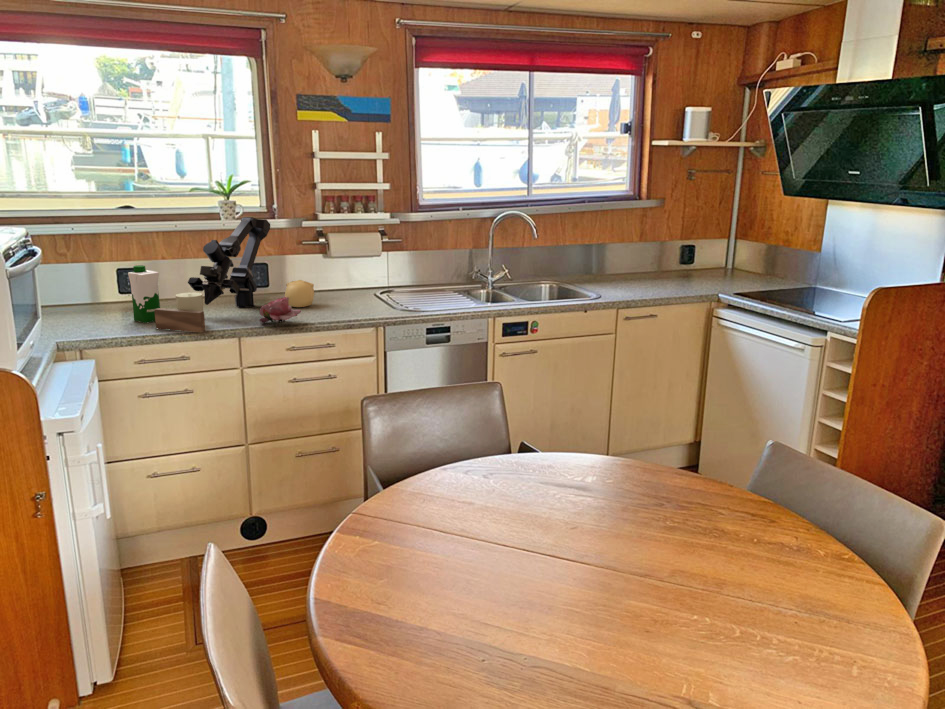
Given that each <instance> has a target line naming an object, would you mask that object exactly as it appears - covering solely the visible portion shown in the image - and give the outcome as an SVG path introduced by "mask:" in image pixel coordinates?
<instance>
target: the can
mask: <svg viewBox="0 0 945 709" xmlns="http://www.w3.org/2000/svg"><path fill="white" fill-rule="evenodd" d="M203 295H204V294H203V293H201V292H197V291H195V292H193V291H192V292H181V293H176V294H175V302H176V309H177V310H190V311H204V300H203V298H204V297H203Z"/></svg>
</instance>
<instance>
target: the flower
mask: <svg viewBox="0 0 945 709" xmlns="http://www.w3.org/2000/svg"><path fill="white" fill-rule="evenodd" d="M288 300H289V298H288V297H287V298H286V297H285V296H284V297H282V298H275V300H271V301H269V302H268V303H267V304H264V305H262V306H261V307H260V309H259V314H260V316H262V318H260V319H259V322H261V323H262V324H265V322H266V323H267V322H269V321H270V322H271V323H272V324H273V326H274V327H276V324H275V322H277V321H278V324H280V323H281V324H282V323H283V322H286V321H287V320H289V319H291V318H294V317H298V315H299V314H301V312H302V310H301V309H293V308H292V307H293V306H290V305H289V304H288Z"/></svg>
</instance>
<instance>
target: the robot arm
mask: <svg viewBox="0 0 945 709" xmlns="http://www.w3.org/2000/svg"><path fill="white" fill-rule="evenodd" d="M270 229H271V222H269V221H268V220H267V219H265V218H256V217H253V216H252V217H251V216H243V217H242V218H241V220H240V222H239V224H238V225H237V226H236V228H235V229H234V230H233V232H232V233H231V234H230V235H229V236H228V237H225V238H223V239H222V240H221V241H219V242H218V240H217V239H211V241H210V242H207V243H206V244H205V245H204V246H203V247H202V248H203V249H202V251H203V253H204V254H205V255H206V257H207V258H208V259H209V261H210V262H212V263H213V265H212V266H211V265H210V266H209V265H201V266H200V270H199V275H200V276H203V277H204V278H203V279H204V280H202V278H201V277H194V276H192V277H189V278H188V281H187V284H188V285H189V286H190V288H192V289H193V291H195V292H204V305H205V306H206V305H208V306H209V304H211V303H212V302H213V301H215V300H216V299H217V298H218V297H220V296H221V295H224V291H225V290H226V289H229V293H230V294H234V304H235V306H236V307H237V308H239V309H241V308H254V307H256V305H255V303H254V300H255V299H254V293H256V292H257V289H258V285H257V283H256V282H255V281H254V275H253V273H252V272H253V271H252V269H253V267H254V264H255V261H256V257H257V254H258V251H259V249H260V245H261V242H262V241H263V240H264V239H265V238H267V237H268V234H269V232H270ZM247 236H249V237H248V239H247V242H246V244H245V248H244V251H243V254H242V256H241V257H242V258H241V260H240V263H239V265H238V267H236V266H234V262H233V259H231V258H237V257H238V256H239V254H240V252H241V250H242V248H241V244H242V242H243V241H245V239H246V237H247ZM232 267H233V268H232ZM230 268H232V269H231V273H230V275H229V276H230V278H229V276H228V272H229V270H230Z"/></svg>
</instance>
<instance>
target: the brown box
mask: <svg viewBox="0 0 945 709" xmlns="http://www.w3.org/2000/svg"><path fill="white" fill-rule="evenodd" d="M154 311H155V321H154V322H155V329H156V328H158V329H157V330H163V329H170V330H169V331H175V330H181V331H180V332H188V331H189V333H190V332H191V333H204V332H206V319H205V311H204V310H203V311H190V310H177V308H176V309H175V308H162V307H160V308H158V309H155V310H154Z"/></svg>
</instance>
